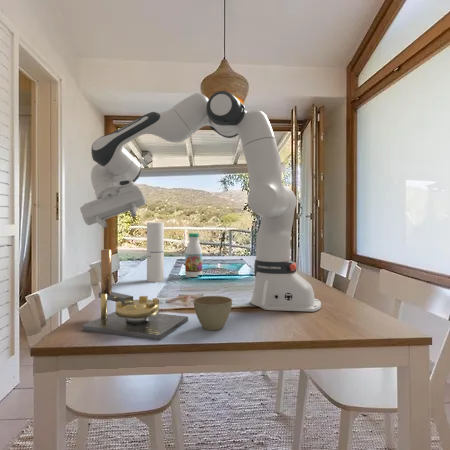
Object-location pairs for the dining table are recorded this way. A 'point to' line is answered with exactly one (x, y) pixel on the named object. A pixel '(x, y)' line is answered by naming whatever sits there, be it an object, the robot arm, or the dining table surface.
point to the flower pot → (212, 311)
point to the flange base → (135, 324)
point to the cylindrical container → (155, 252)
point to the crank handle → (124, 302)
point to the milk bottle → (193, 256)
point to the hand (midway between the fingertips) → (119, 220)
